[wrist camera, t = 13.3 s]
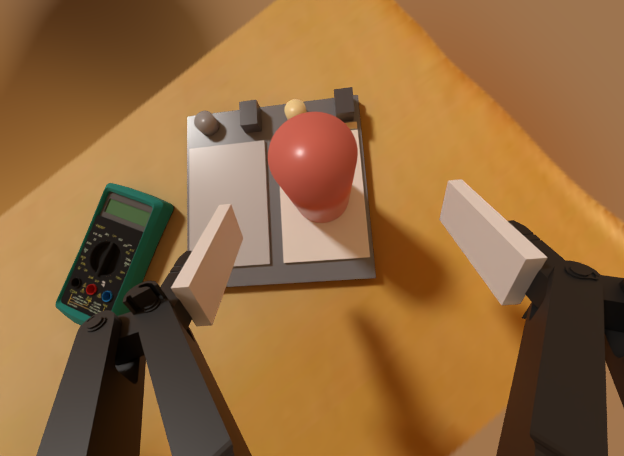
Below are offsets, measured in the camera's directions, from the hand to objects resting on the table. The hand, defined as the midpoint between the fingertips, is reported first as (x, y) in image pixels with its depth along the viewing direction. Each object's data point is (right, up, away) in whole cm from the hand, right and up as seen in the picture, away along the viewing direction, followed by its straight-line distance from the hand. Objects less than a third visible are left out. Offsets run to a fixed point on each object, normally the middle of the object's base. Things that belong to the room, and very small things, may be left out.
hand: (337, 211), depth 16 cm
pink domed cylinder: (-1, +2, +9) cm, 10 cm away
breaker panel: (-5, +3, +11) cm, 13 cm away
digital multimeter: (-23, -4, +13) cm, 26 cm away
